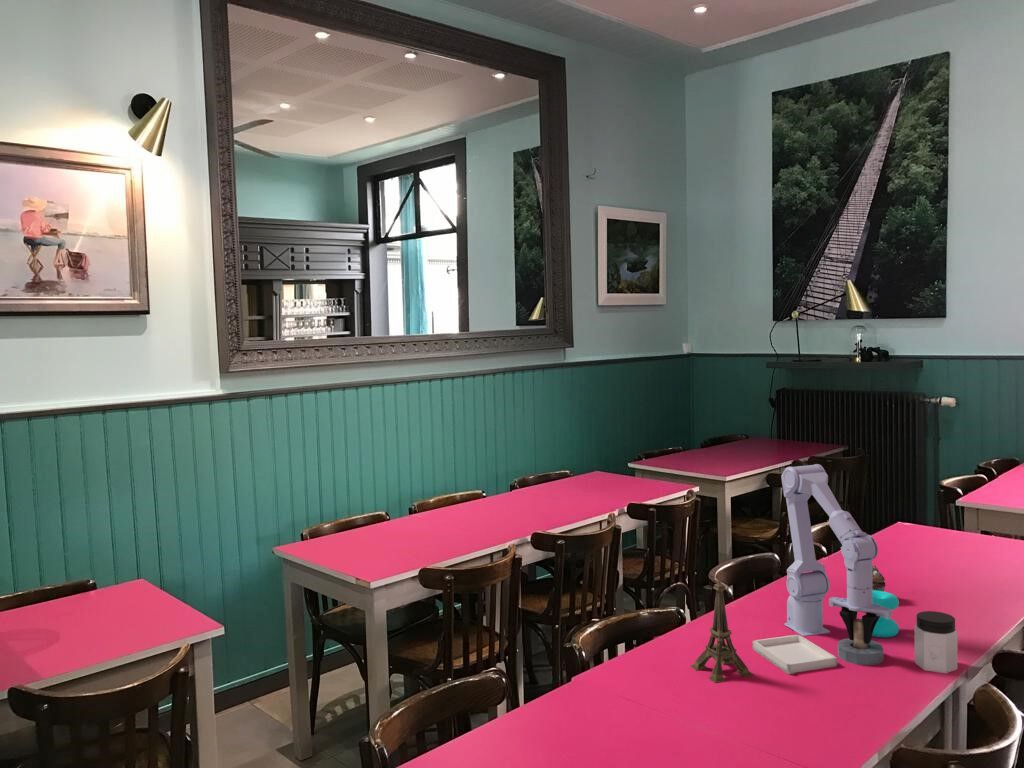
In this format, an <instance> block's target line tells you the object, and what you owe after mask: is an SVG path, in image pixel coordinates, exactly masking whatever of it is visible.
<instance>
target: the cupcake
mask: <svg viewBox="0 0 1024 768" xmlns="http://www.w3.org/2000/svg"><path fill="white" fill-rule="evenodd" d="M885 581H886V579H885V577H884V575H883V574H882V573H881V572H880V571H879V568H878V567H877V566H876V565H872V590H876V591H884V592H885V588H886V586H887V585H886V582H885Z"/></svg>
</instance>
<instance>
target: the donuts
mask: <svg viewBox="0 0 1024 768" xmlns="http://www.w3.org/2000/svg"><path fill="white" fill-rule="evenodd" d="M872 594H873V603H874V604H877V605H880V606H882V607H885V608H889V609H892V611H894V610H896V609H897V608H898V607H899V605H900V602H899V599H898V597H897V596H896V595H895V594H893V593H890V592H887V591H885V590H884V591H876V590H872ZM860 619H862V617H860ZM899 631H900V627H899V625H898V622H897V621H896V620H893V619H892V618H890V619H885V618H884V617H881V616H880V618H879V620H878V621H877V623H876V625H875V628H874V630H873V633H872V637H876V638H892V637H894V636H896V635H898V633H899Z"/></svg>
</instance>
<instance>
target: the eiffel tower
mask: <svg viewBox="0 0 1024 768" xmlns="http://www.w3.org/2000/svg"><path fill="white" fill-rule="evenodd" d="M712 588H713V589H714V590H716V591H715V599H714V610H713V618H712V619H713V620H712V627H710V628H709V631H708V632H710V637H709V640H708V643H707V645H704V646H705V649H704V650H703V652H701V654H700V655H699V656H698V658H696V659H695V661H694V663H693V664H690V665H689V667H690V668H691V669H693V670H695V671H701V670H707V666H706V664H707V663H708V661H709V660H710V659H711V658H712V659H713V660H714V662H715V663H714V665H713V669H712V671H711V675H709V677H708V680H710V681H711V682H712V683H714V684H718V683H723V682H726V678H725V677H724V676H723V667H722V665H725V666H726V665H730V664H734V666H735V668H736V669H737V670H736V674H738V675H739V676H742V677H743V678H745V677H751V676H754V673H752V672H751V671H750V669H749V668H748V667H747V665H746V664H745V663H744V661H743V660H742V658H740V656H739V655H738V654H737V650H738V649H736V648H735V647H734V644H733V641H732V639H731V635H732V633H733V632H732V630H730V629H729V625H728V619H727V611H726V606H725V605H726V604H725V597H724V591H726V590H727V588H726V587H725V585H724V584H723V583H721V576H720V573H718V583H715V584H713V587H712Z"/></svg>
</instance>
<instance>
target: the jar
mask: <svg viewBox="0 0 1024 768" xmlns="http://www.w3.org/2000/svg"><path fill="white" fill-rule="evenodd" d="M914 664H916V665H917V666H918V667H920V668H921V669H922V670H923V671H926V672H927V671H928V672H934V673H941V674H948V673H950V672H954V671H956V670H958V629H956V618H955V617H954V616H953V615H951V614H948V613H945V612H941V611H933V610H925V611H920V612H918V613H917V614H916V624H914Z"/></svg>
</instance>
